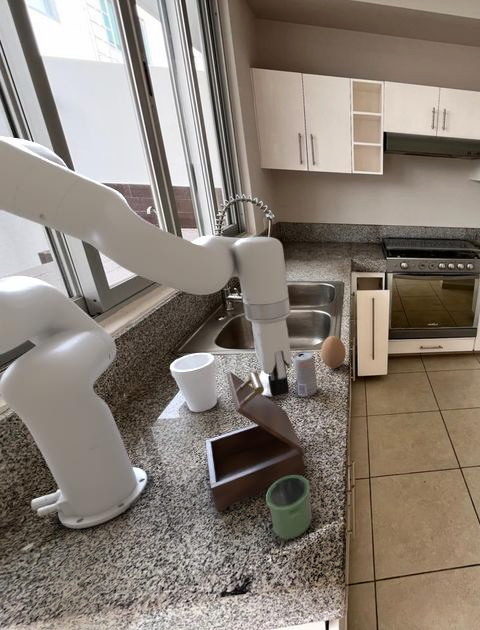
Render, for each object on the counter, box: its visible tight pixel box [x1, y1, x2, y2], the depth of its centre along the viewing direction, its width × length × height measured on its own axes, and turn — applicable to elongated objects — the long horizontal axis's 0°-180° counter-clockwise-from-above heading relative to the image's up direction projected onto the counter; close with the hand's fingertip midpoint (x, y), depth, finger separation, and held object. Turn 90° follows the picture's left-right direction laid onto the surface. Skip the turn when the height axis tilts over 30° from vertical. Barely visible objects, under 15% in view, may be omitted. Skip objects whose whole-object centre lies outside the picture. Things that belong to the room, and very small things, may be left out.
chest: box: [205, 423, 306, 512], centre depth 70 cm, size 16×14×6 cm
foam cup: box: [169, 352, 218, 413], centre depth 89 cm, size 10×9×13 cm
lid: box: [226, 370, 304, 452], centre depth 68 cm, size 17×14×5 cm
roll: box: [259, 369, 273, 397], centre depth 95 cm, size 6×12×6 cm, turn 16°
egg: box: [320, 335, 347, 369], centre depth 109 cm, size 8×8×11 cm
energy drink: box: [292, 350, 318, 397], centre depth 95 cm, size 5×5×12 cm
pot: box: [265, 475, 313, 540], centre depth 59 cm, size 7×9×8 cm
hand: (279, 392), depth 69 cm, fingers closed
